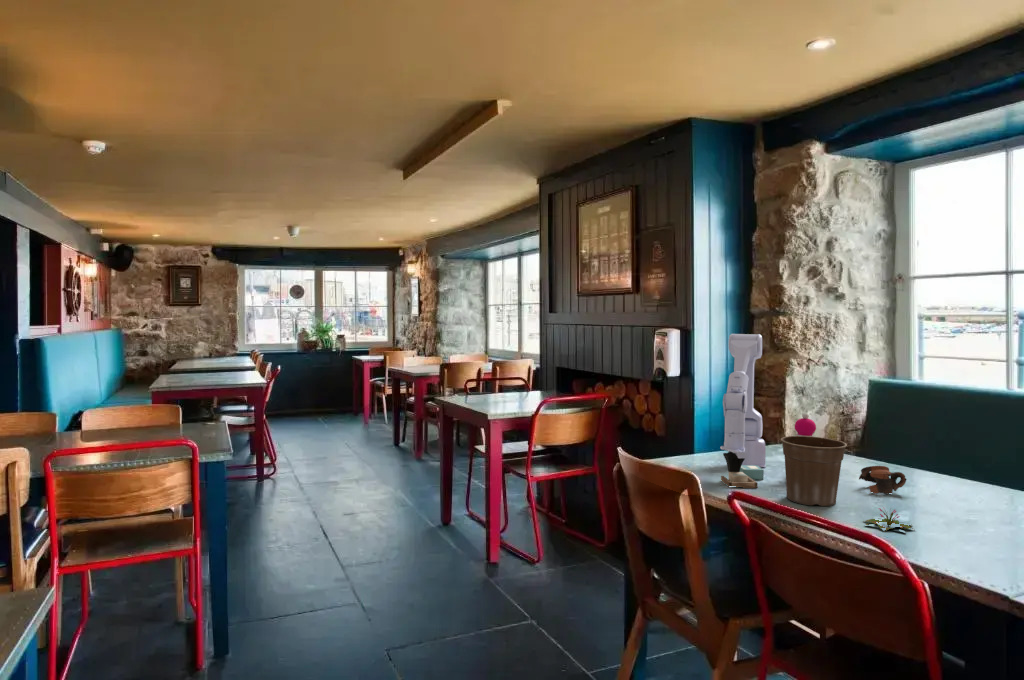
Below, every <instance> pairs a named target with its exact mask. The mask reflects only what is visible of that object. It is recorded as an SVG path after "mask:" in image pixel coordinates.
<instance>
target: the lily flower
mask: <svg viewBox="0 0 1024 680" xmlns="http://www.w3.org/2000/svg"><path fill="white" fill-rule="evenodd" d="M882 508H883V509H885V507H882ZM877 509H878V510H879V511H880V512H882V513H883V514H881V513H879V515H880V517H882V518H881V519H882V521H879V520H875V519H872V518H870V519H867V520H864V521H865V523H866V524H865V525H868V524H869V523H870V524H877V523H876V522H878V523H879V522H887V525H890V526H891V524H892V523H895V524H899V523H900V521H899V520H897V519H899V518H900V517H901V516H899V514H898V513H897V514H896V515H895V516H894V514H895V513H896V512H897V510H896V509H894V510H893V511H892V512H890V513H889V511H886V512H884V511H883V510H882V509H881V508H880V507H878V508H877ZM891 509H892V508H890V511H891ZM883 515H884V516H883ZM891 520H892V521H891ZM887 525H886V526H887ZM883 526H884V525H882V526H880V525H878V524H877V527H878V528H879V529H880V530H881V528H885V527H886V526H884V527H883ZM900 526H902V527H900V528H901V529H904V528H903V527H906V528H905V529H907V530H909V529H908V528H912V529H914V528H913V527H911V526H908V525H904V524H900ZM889 529H891V530H892V527H886V531H888V530H889ZM889 531H890V530H889Z"/></svg>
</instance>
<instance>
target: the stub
mask: <svg viewBox="0 0 1024 680" xmlns="http://www.w3.org/2000/svg"><path fill="white" fill-rule="evenodd" d="M728 480H729V481H731V482H748V476H747V475H746V474H744V473H743V472H729V471H728Z"/></svg>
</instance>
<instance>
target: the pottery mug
mask: <svg viewBox="0 0 1024 680" xmlns="http://www.w3.org/2000/svg"><path fill="white" fill-rule="evenodd" d="M860 472H861V474H860V475H859V477H858V480H859V481H860V480H863V481H865V482H871V483H874V484H873V485H869V486H868V489H869V492H870V493H871V492H873V493H874V494H884V495H890V494H889V493H892V494H893V491H894V492H897V490H898V489H899V488H902V487H903V486H905V485H906V482H907V480H908V479H907V478H906V475H905V474H904V473H903V472H900V471H895V472H891V471H890V468H889V467H888V466H884V465H873V466H872V465H871V466H866V467H863V468H861V469H860ZM899 478H900V479H899ZM897 479H899V481H898V482H897Z"/></svg>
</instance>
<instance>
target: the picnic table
mask: <svg viewBox="0 0 1024 680" xmlns="http://www.w3.org/2000/svg"><path fill="white" fill-rule="evenodd" d="M721 480H722V481H723V482H724V483H725V484H727V485H728V486H736V487H743V488H742V489H758V488H759V487H758V484H759V483H758V481H756V480H753V479H751V478H750V477H749V476H748V482H731V481H729V478H727V477H726V476H724V475H721V476H720V481H721ZM722 481H721V482H722ZM723 482H722V483H723ZM724 483H723V484H724ZM725 484H724V485H725ZM728 486H727V487H728Z"/></svg>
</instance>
